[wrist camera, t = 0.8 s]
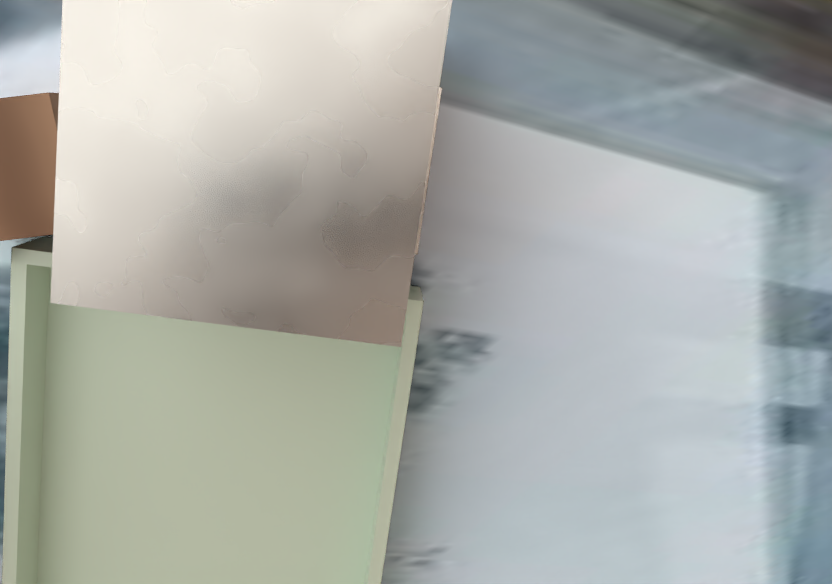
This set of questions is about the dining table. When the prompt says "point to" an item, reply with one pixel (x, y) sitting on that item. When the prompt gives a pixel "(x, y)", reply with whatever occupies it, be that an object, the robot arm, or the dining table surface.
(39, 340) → the tray
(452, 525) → the dining table surface
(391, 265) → the light grey labelled box
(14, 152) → the walnut block
